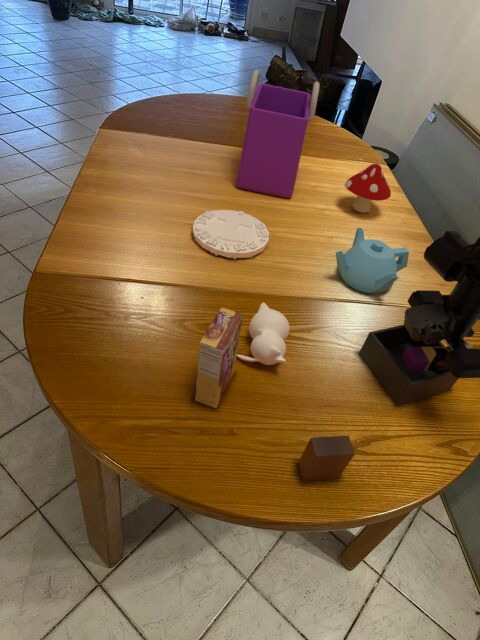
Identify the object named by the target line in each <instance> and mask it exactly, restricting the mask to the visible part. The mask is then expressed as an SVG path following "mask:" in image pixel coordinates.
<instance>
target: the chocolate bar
mask: <svg viewBox="0 0 480 640" xmlns="http://www.w3.org/2000/svg"><path fill="white" fill-rule="evenodd" d="M445 347H446V346H445ZM445 347H407V348H406V349H405V351H404V353H403V354H402V357H403V359H404V361H405V363H406V365H407V367H408V369H409V371H415V370H427V369H428V367H429V365H430V363H431V362H432V360H433V359H434V357H435V356H436V354H437V353H436V351H435V349H434V348H445ZM448 369H449V368H448V367H447V365H446V366H444V367H441V368H439V369H437V370H448Z"/></svg>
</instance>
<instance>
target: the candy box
mask: <svg viewBox="0 0 480 640" xmlns="http://www.w3.org/2000/svg"><path fill="white" fill-rule="evenodd" d="M243 316H244V315H243V314H242V313H240V312H237V311H234V310H231V309H229V308H225V307H220V308H219V310H218V311H217V313H216V314H215V317H214V318H213V320H212V321H211V323H210V325H209V326H208V328H207V329H206V331H205V332H204V334H203V336H202V338H201V339H200V341H199V345H198V360H197V372H196V373H197V374H196V383H195V399H194V401H195V402H198V403H200V404H203V405H205V406H208V407H211V408H213V409H217V407H218V405H219V403H220V402H221V399H222V397H223V395H224V393H225V391H226V389H227V386H228V384H229V383H230V381H231V379H232V377H233V375H234V373H235V366H236V360H237V356H236V355H237V353H238V347H239V341H240V334H241V329H242V322H243Z"/></svg>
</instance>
